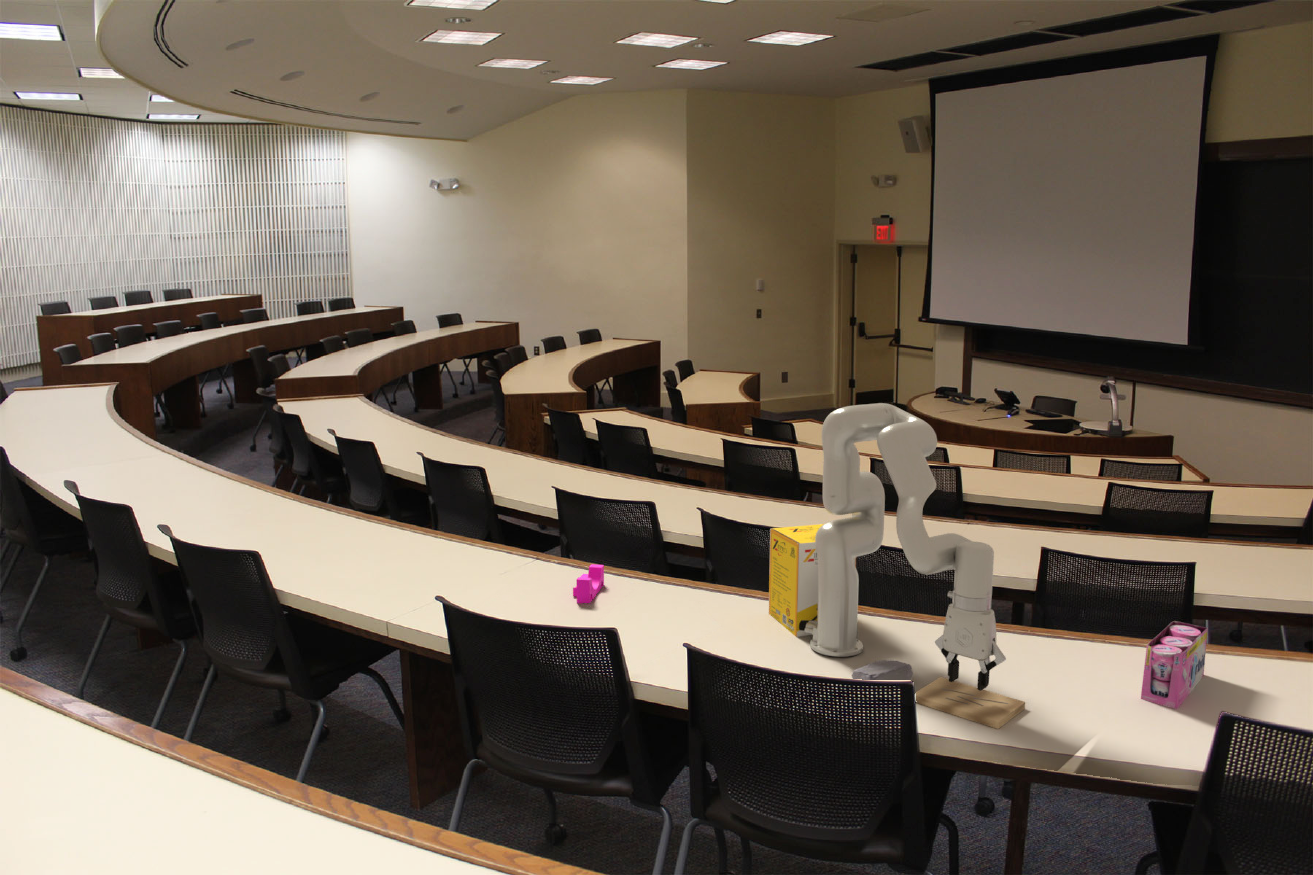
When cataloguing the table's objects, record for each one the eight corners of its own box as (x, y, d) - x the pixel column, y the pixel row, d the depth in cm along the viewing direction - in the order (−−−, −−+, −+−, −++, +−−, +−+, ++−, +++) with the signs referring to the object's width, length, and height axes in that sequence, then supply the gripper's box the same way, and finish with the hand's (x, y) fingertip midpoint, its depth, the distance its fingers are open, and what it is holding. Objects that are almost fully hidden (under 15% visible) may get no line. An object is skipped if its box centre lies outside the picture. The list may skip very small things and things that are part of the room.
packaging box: (823, 613, 260) (825, 523, 256) (853, 633, 244) (856, 538, 241) (768, 620, 255) (770, 528, 251) (796, 641, 239) (798, 543, 236)
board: (911, 701, 204) (911, 694, 204) (940, 683, 214) (940, 676, 213) (998, 728, 191) (998, 721, 191) (1024, 708, 201) (1025, 701, 201)
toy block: (583, 588, 282) (583, 563, 281) (604, 589, 281) (603, 565, 279) (568, 604, 267) (567, 578, 266) (589, 606, 266) (589, 580, 265)
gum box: (1175, 713, 199) (1181, 655, 197) (1137, 703, 204) (1142, 646, 202) (1203, 681, 215) (1209, 627, 213) (1167, 672, 220) (1172, 619, 218)
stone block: (886, 650, 220) (916, 665, 211) (886, 670, 221) (915, 686, 212) (844, 659, 215) (873, 675, 206) (844, 679, 215) (872, 696, 207)
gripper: (925, 596, 202) (921, 678, 205) (1004, 615, 191) (999, 701, 193) (942, 588, 208) (938, 668, 211) (1020, 606, 196) (1015, 690, 199)
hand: (967, 683), depth 202 cm, fingers open, 5 cm apart
